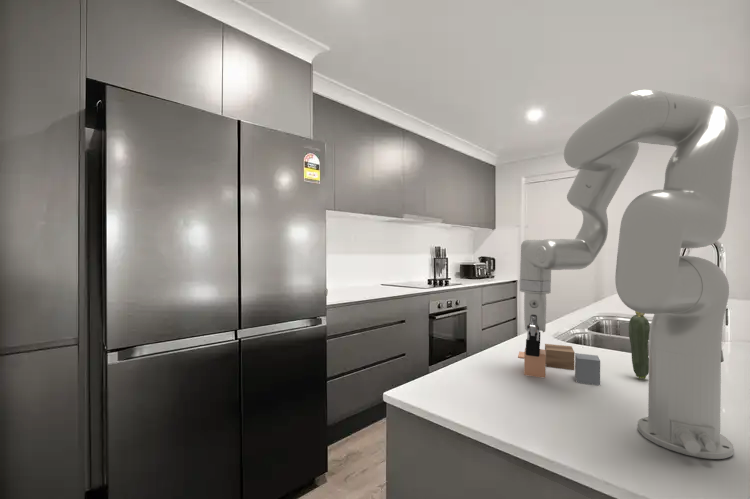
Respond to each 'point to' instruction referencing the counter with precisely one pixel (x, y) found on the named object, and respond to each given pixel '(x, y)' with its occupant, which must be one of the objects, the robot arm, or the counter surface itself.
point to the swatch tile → (521, 355)
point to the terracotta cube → (535, 364)
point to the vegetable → (639, 344)
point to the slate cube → (587, 369)
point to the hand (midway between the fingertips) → (533, 350)
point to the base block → (559, 356)
